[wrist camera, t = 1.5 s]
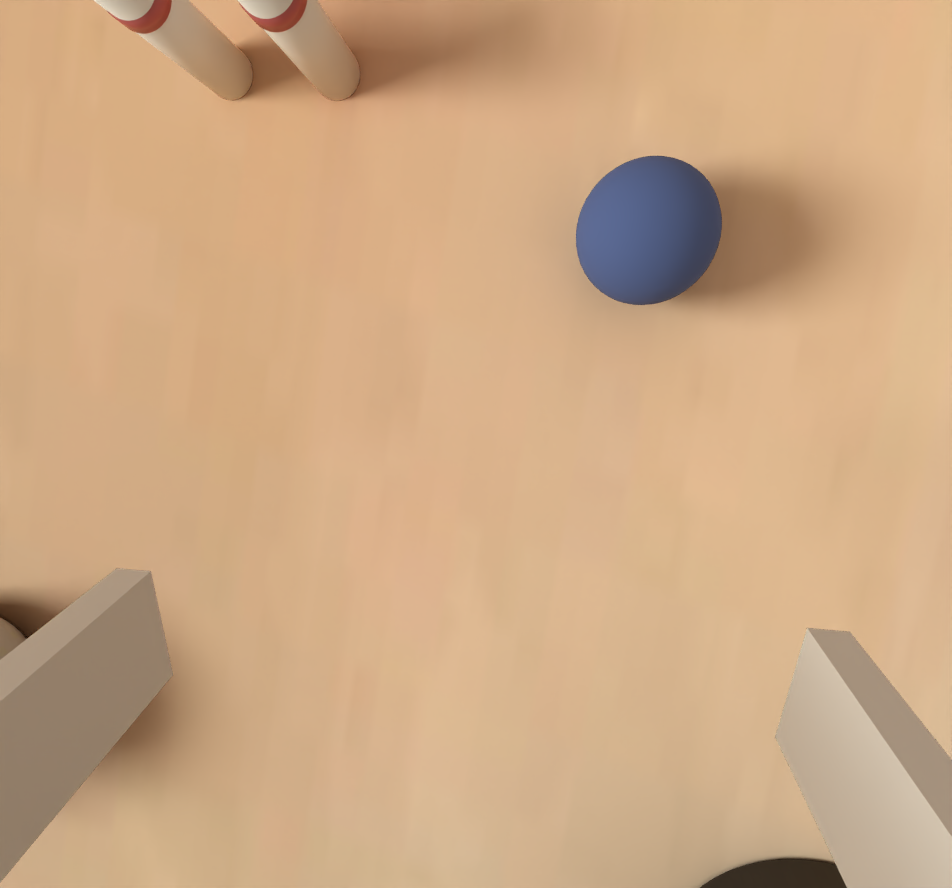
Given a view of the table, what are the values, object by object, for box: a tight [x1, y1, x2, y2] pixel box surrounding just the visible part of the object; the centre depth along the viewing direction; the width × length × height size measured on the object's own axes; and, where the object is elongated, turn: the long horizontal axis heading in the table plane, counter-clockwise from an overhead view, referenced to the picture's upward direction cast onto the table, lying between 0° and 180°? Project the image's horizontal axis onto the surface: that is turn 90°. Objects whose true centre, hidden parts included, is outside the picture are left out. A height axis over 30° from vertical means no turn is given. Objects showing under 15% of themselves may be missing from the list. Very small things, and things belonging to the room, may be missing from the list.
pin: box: [94, 0, 253, 100], centre depth 24 cm, size 2×2×8 cm
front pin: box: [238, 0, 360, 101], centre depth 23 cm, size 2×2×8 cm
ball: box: [576, 156, 722, 305], centre depth 24 cm, size 6×6×6 cm
